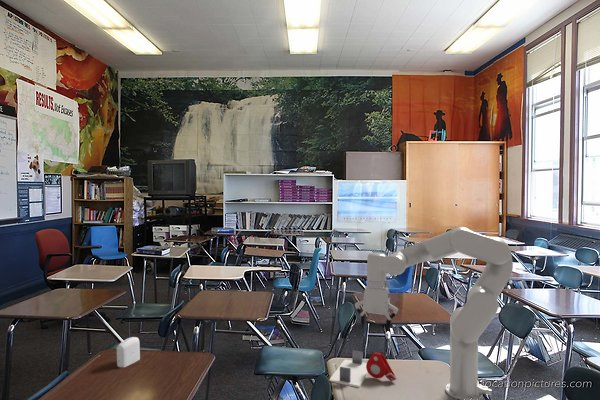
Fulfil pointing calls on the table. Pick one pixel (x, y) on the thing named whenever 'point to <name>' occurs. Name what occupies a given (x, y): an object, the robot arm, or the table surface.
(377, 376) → the red curved piece
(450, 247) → the robot arm
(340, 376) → the board
